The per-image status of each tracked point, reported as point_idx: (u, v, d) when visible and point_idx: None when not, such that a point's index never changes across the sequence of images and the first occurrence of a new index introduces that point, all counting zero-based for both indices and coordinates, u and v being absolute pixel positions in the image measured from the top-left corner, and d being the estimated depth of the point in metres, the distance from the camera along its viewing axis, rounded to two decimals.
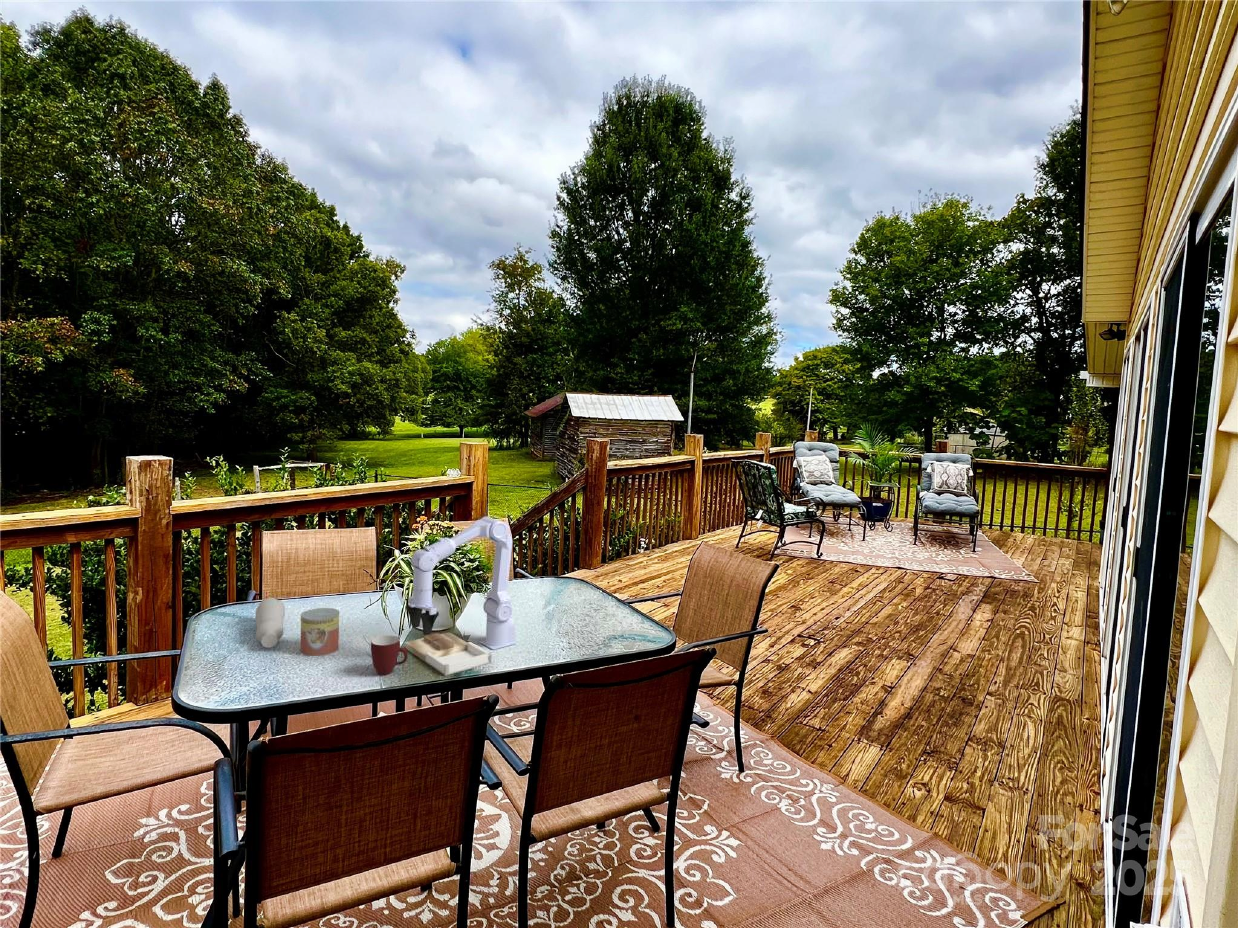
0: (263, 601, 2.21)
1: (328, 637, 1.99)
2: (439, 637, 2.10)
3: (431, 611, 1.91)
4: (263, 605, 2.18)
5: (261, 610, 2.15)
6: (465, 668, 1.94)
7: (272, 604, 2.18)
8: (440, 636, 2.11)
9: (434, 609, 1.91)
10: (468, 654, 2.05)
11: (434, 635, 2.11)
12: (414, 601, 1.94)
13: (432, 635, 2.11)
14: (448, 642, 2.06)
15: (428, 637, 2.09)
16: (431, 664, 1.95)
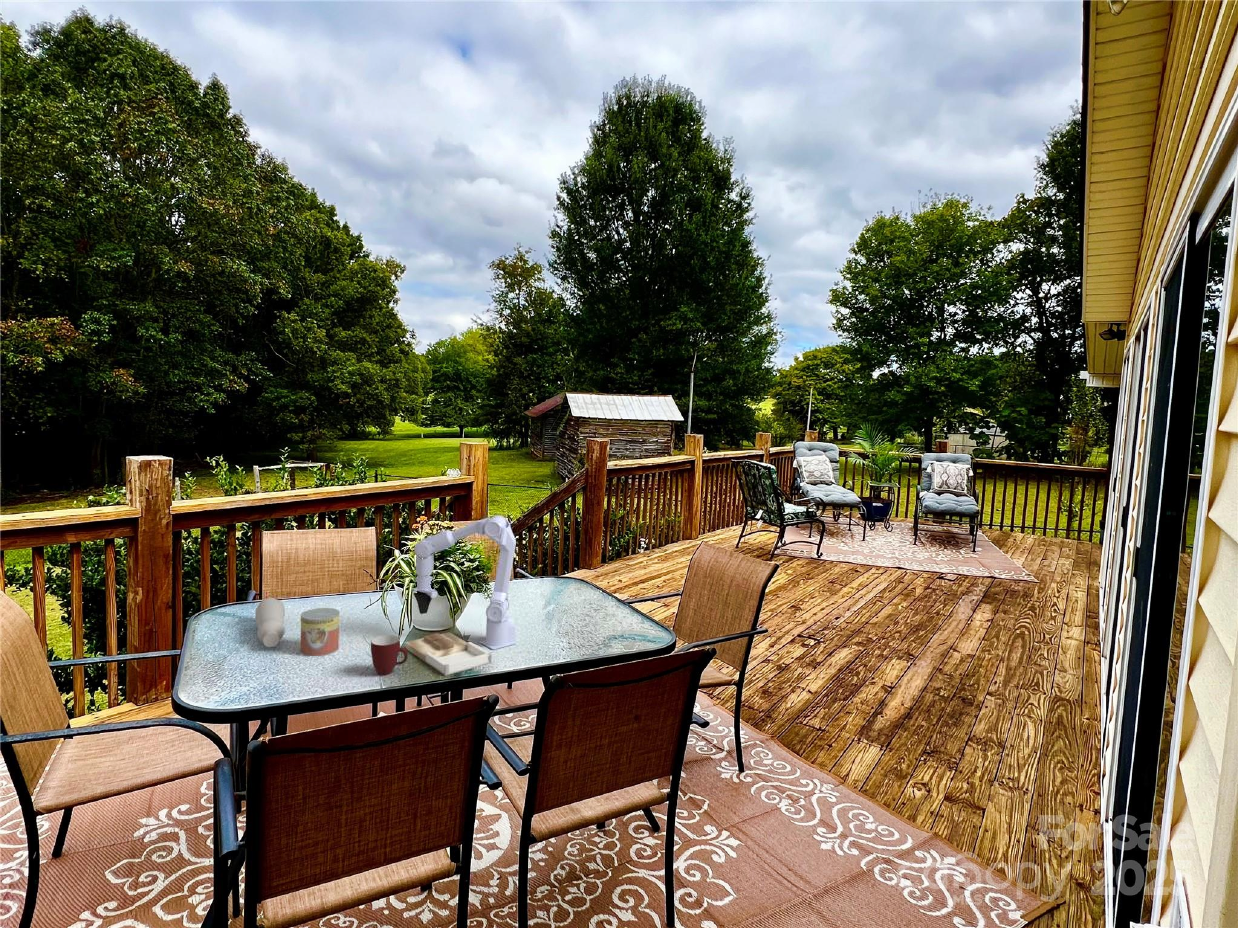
0: (263, 601, 2.21)
1: (328, 637, 1.99)
2: (439, 637, 2.10)
3: (432, 594, 2.09)
4: (263, 605, 2.18)
5: (261, 610, 2.15)
6: (465, 668, 1.94)
7: (272, 604, 2.18)
8: (440, 636, 2.11)
9: (435, 593, 2.10)
10: (468, 654, 2.05)
11: (434, 635, 2.11)
12: (417, 585, 2.12)
13: (432, 635, 2.11)
14: (448, 642, 2.06)
15: (428, 637, 2.09)
16: (431, 664, 1.95)
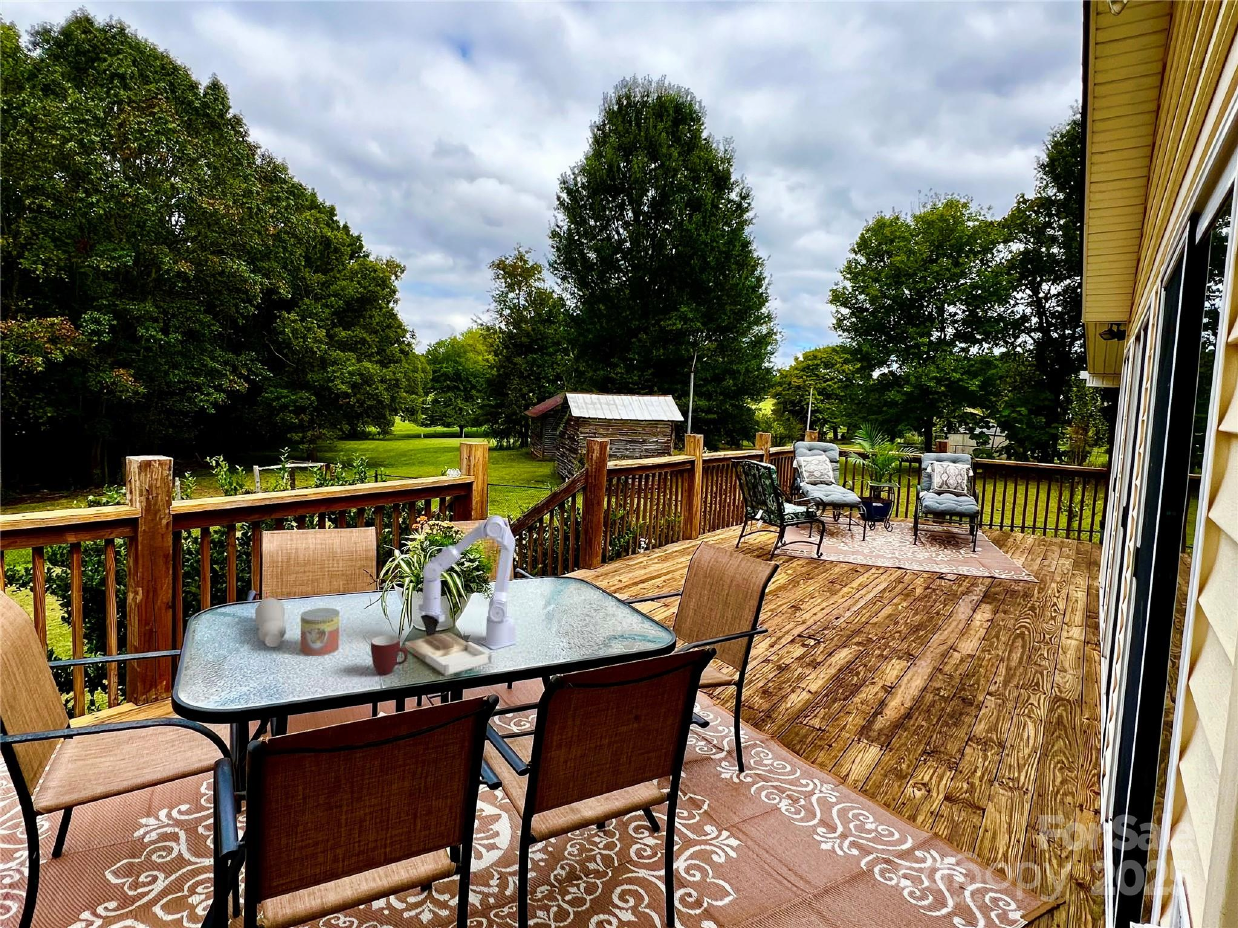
0: (262, 601, 2.21)
1: (328, 637, 1.99)
2: (440, 638, 2.09)
3: (440, 618, 2.06)
4: (263, 605, 2.18)
5: (261, 610, 2.15)
6: (465, 668, 1.94)
7: (272, 604, 2.18)
8: (441, 637, 2.10)
9: (442, 616, 2.06)
10: (468, 654, 2.05)
11: (435, 636, 2.11)
12: (424, 609, 2.09)
13: (433, 636, 2.10)
14: (448, 642, 2.06)
15: (429, 638, 2.09)
16: (431, 664, 1.95)
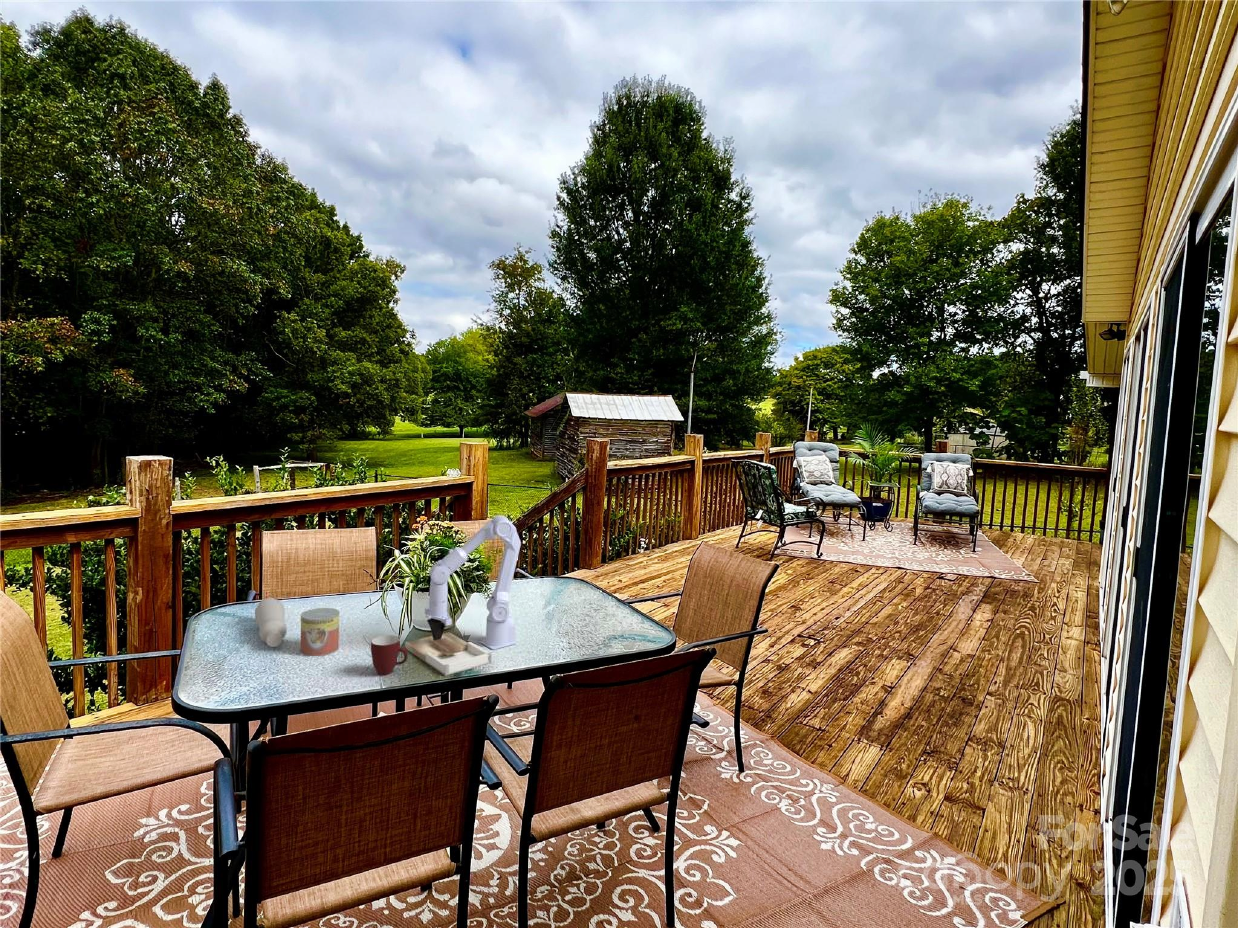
0: (262, 601, 2.21)
1: (328, 637, 1.99)
2: (447, 642, 2.06)
3: (447, 622, 2.02)
4: (263, 605, 2.18)
5: (261, 610, 2.15)
6: (465, 668, 1.94)
7: (272, 604, 2.18)
8: (448, 641, 2.07)
9: (449, 620, 2.03)
10: (468, 654, 2.05)
11: (442, 640, 2.07)
12: (430, 612, 2.06)
13: (440, 640, 2.07)
14: (455, 646, 2.03)
15: (436, 642, 2.05)
16: (431, 664, 1.95)
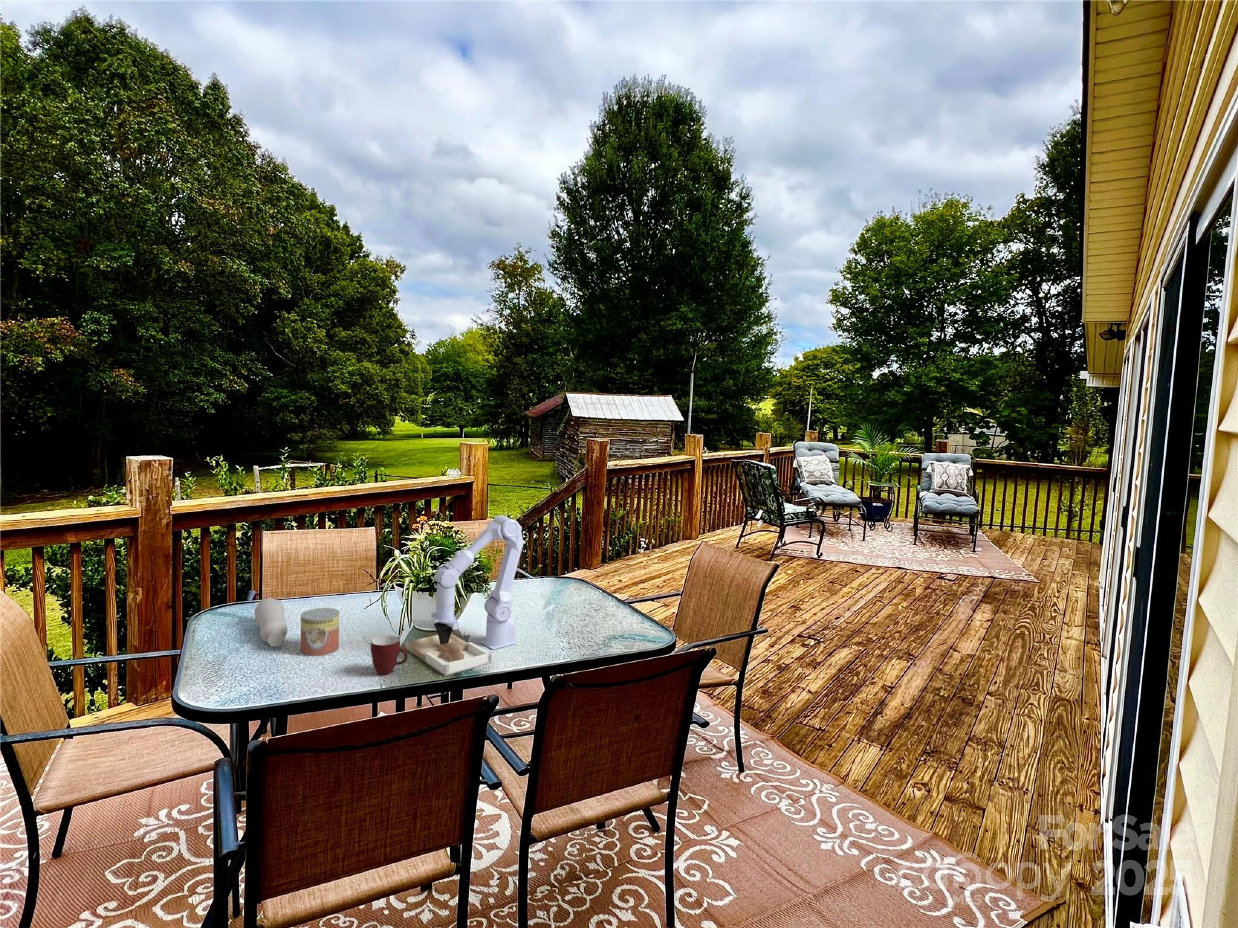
0: (262, 601, 2.21)
1: (328, 637, 1.99)
2: (454, 646, 2.03)
3: (454, 626, 1.99)
4: (263, 605, 2.18)
5: (261, 610, 2.15)
6: (465, 668, 1.94)
7: (272, 604, 2.18)
8: (455, 645, 2.04)
9: (457, 624, 2.00)
10: (468, 654, 2.05)
11: (449, 644, 2.04)
12: (437, 616, 2.02)
13: (447, 644, 2.04)
14: (458, 653, 2.01)
15: (443, 646, 2.02)
16: (431, 664, 1.95)
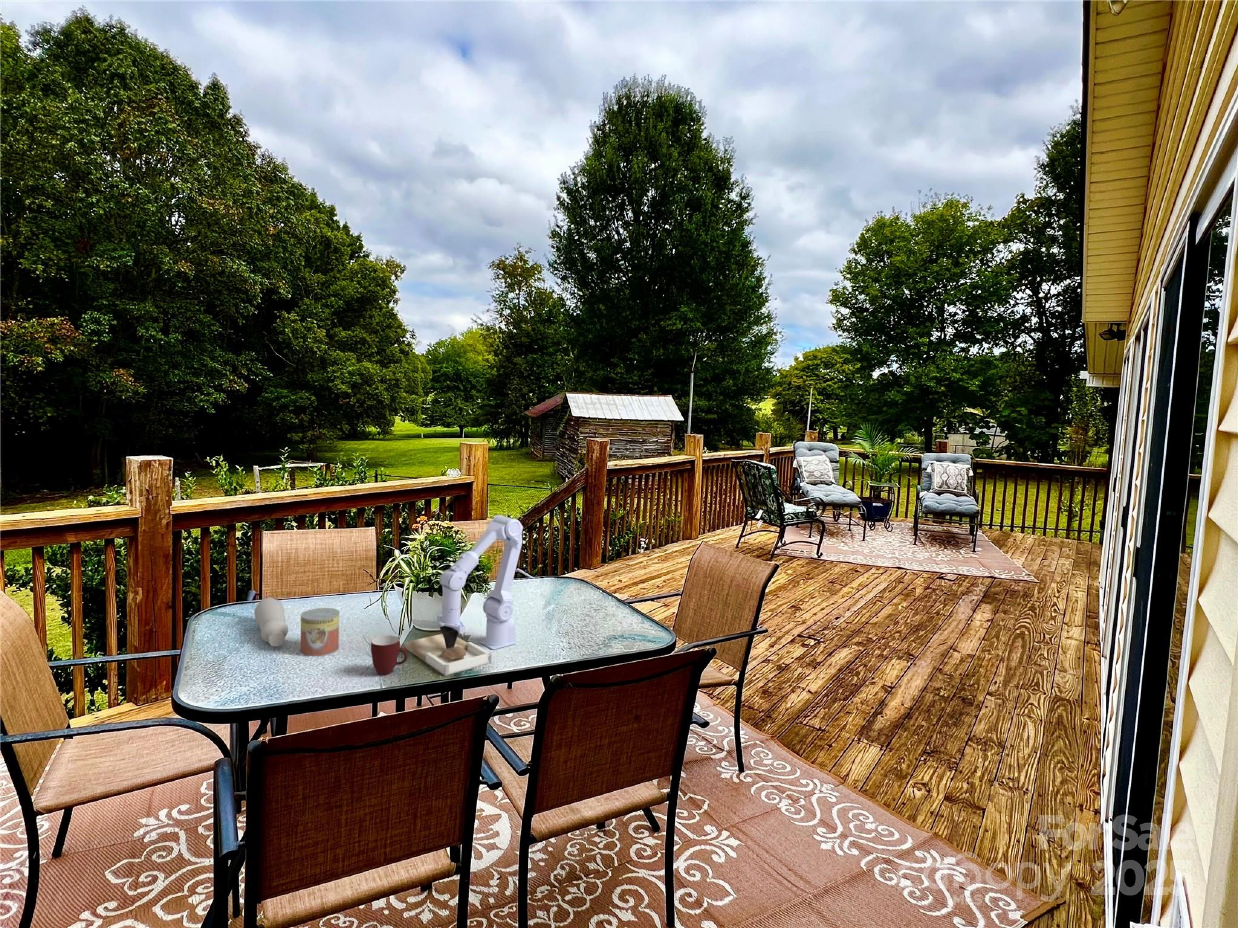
0: (262, 601, 2.21)
1: (328, 637, 1.99)
2: (460, 650, 2.00)
3: (460, 630, 1.96)
4: (263, 605, 2.18)
5: (261, 610, 2.15)
6: (465, 668, 1.94)
7: (272, 604, 2.18)
8: (461, 649, 2.01)
9: (463, 628, 1.97)
10: (468, 654, 2.05)
11: (455, 648, 2.01)
12: (443, 620, 2.00)
13: (452, 648, 2.01)
14: None
15: (449, 650, 1.99)
16: (431, 664, 1.95)
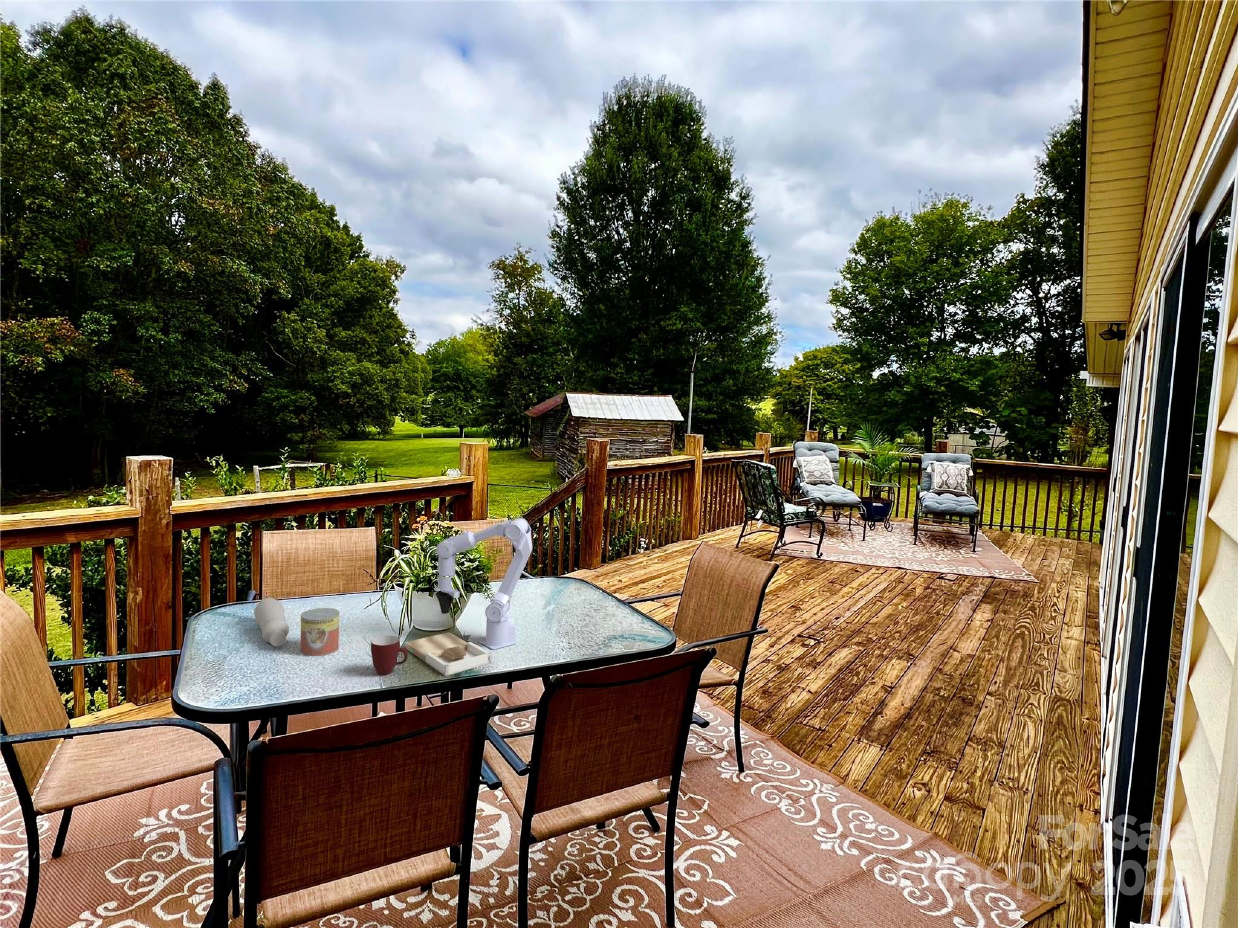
0: (262, 601, 2.21)
1: (328, 637, 1.99)
2: (460, 650, 2.00)
3: (455, 595, 2.10)
4: (263, 605, 2.18)
5: (262, 610, 2.15)
6: (465, 668, 1.94)
7: (272, 604, 2.18)
8: (461, 649, 2.01)
9: (457, 593, 2.11)
10: (468, 654, 2.05)
11: (455, 648, 2.01)
12: (439, 586, 2.13)
13: (453, 649, 2.01)
14: None
15: (449, 650, 1.99)
16: (431, 664, 1.95)
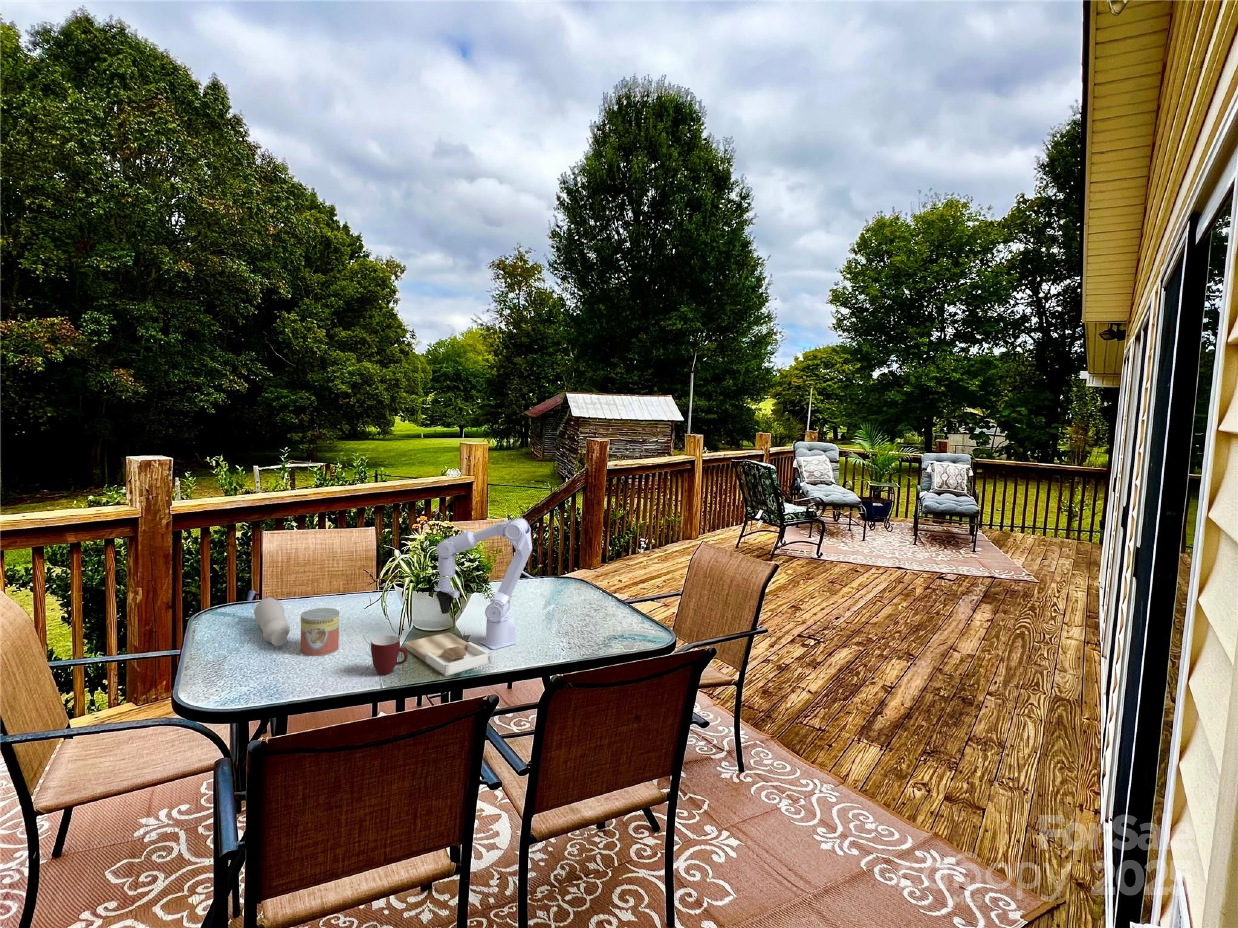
0: (262, 601, 2.21)
1: (328, 637, 1.99)
2: (460, 650, 2.00)
3: (454, 594, 2.10)
4: (263, 605, 2.18)
5: (262, 610, 2.16)
6: (465, 668, 1.94)
7: (272, 604, 2.19)
8: (461, 649, 2.01)
9: (457, 593, 2.11)
10: (468, 654, 2.05)
11: (455, 648, 2.01)
12: (439, 586, 2.14)
13: (453, 649, 2.01)
14: None
15: (449, 650, 1.99)
16: (431, 664, 1.95)
